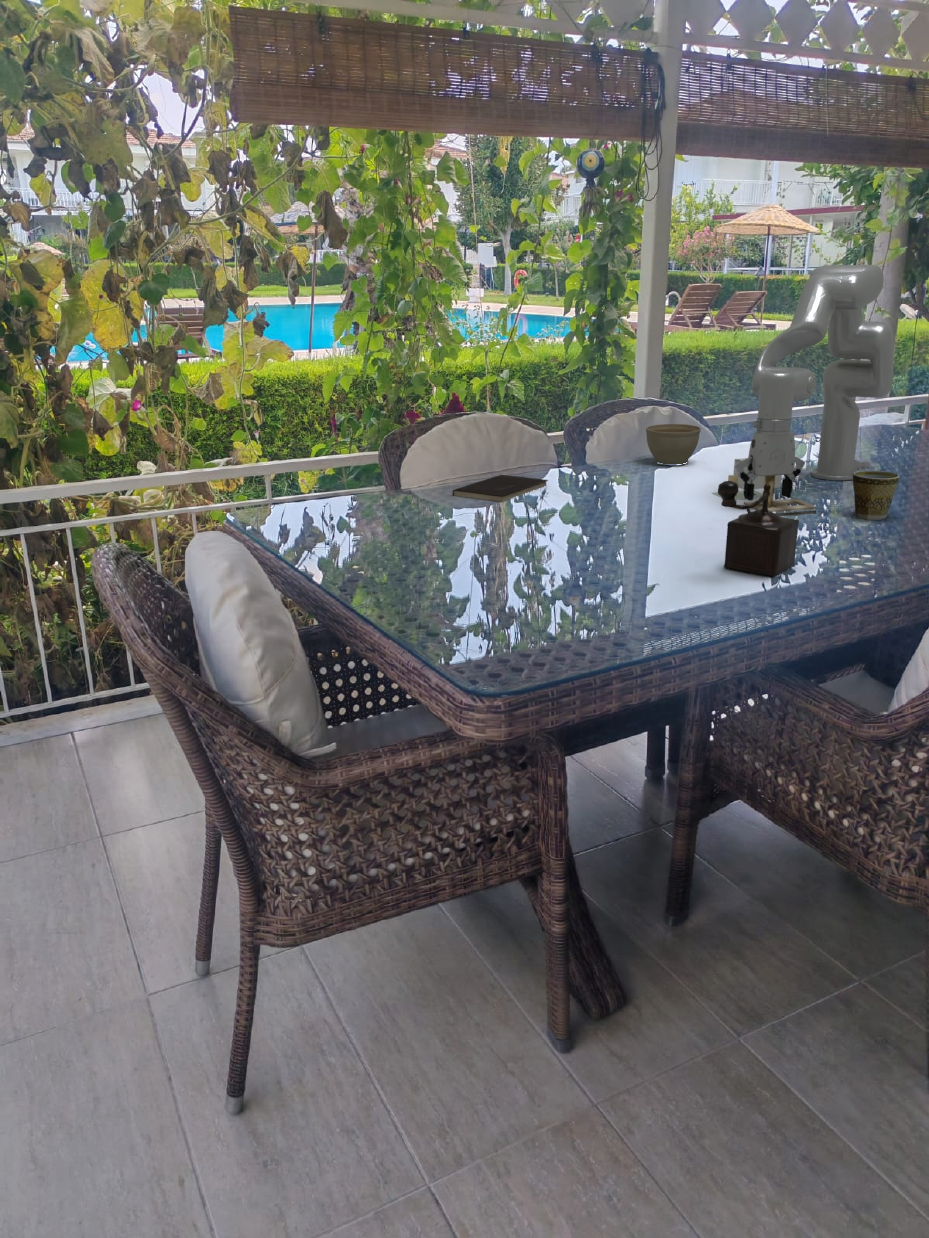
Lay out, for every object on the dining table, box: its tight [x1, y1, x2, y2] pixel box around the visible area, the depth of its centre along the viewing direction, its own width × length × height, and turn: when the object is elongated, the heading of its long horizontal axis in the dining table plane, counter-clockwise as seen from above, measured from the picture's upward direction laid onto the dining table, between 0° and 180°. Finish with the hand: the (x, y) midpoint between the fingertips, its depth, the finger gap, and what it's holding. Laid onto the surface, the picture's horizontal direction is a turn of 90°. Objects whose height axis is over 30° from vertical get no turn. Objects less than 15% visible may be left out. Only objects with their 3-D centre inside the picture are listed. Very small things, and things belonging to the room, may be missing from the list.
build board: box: [743, 498, 817, 517], centre depth 227 cm, size 14×9×2 cm, turn 102°
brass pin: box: [761, 475, 775, 508], centre depth 225 cm, size 2×2×9 cm
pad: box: [711, 474, 763, 501], centre depth 238 cm, size 12×9×6 cm
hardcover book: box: [452, 474, 549, 503], centre depth 255 cm, size 16×23×2 cm
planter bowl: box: [645, 423, 702, 464], centre depth 285 cm, size 16×16×11 cm
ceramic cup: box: [852, 469, 900, 521], centre depth 220 cm, size 13×10×10 cm
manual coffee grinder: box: [717, 480, 800, 578], centre depth 180 cm, size 16×11×18 cm
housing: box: [733, 457, 783, 490], centre depth 248 cm, size 10×7×8 cm
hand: (767, 497), depth 225 cm, fingers open, 9 cm apart
